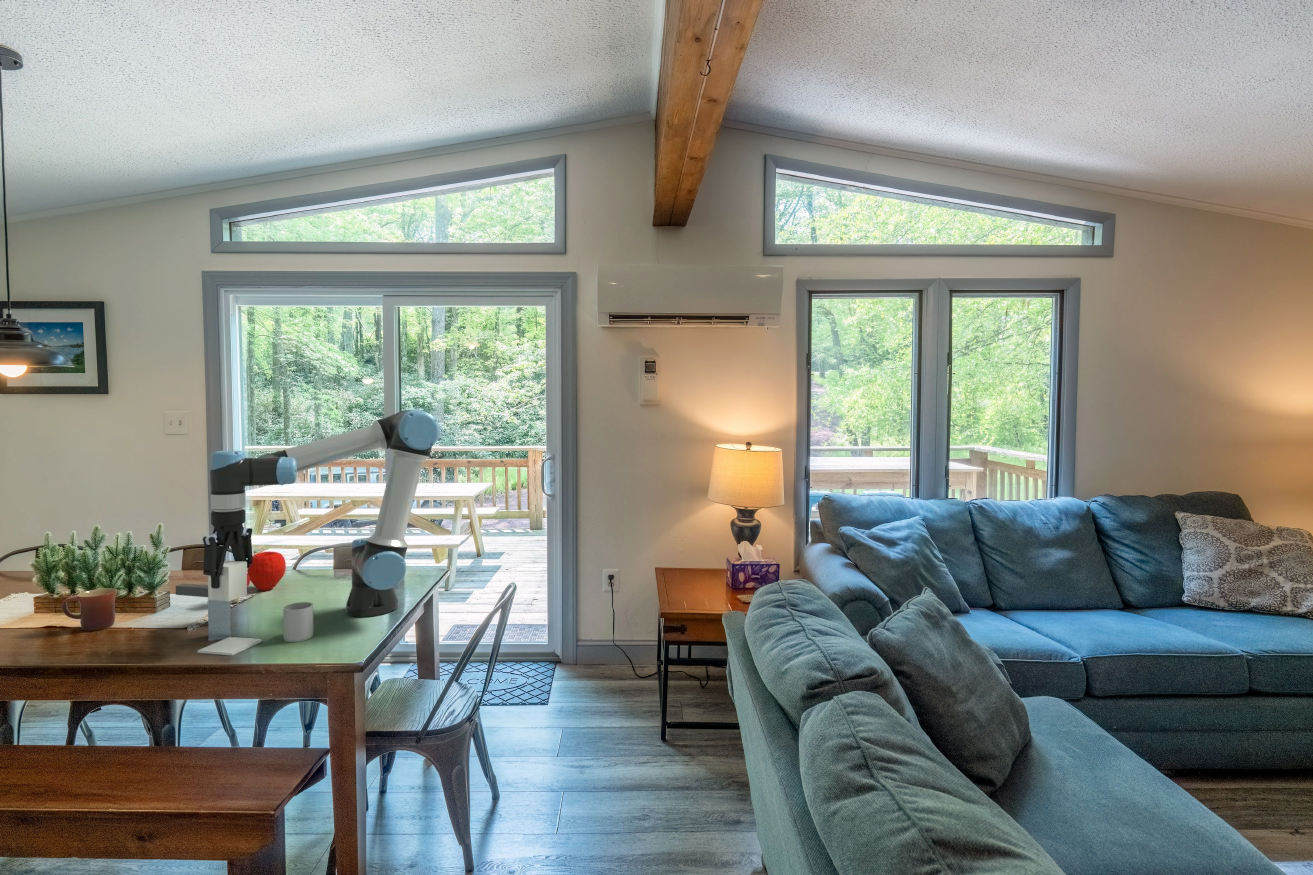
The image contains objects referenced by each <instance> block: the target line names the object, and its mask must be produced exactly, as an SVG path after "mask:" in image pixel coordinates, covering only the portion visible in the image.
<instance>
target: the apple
mask: <svg viewBox="0 0 1313 875" xmlns="http://www.w3.org/2000/svg"><path fill="white" fill-rule="evenodd" d="M252 558H253V562H252V564H249V565H250V567H249V568H247V574H248V575H249V577H250V583H251V584H252V585H253V586H254V587H255V589H257V590H259V591H261V592H264V591H265V592H266V591H270V590H272V589H274V588H275V587H276V586H277V585H278V584H279V583H280V581H281V580H282V578H283V577H284V575H285V573H286V570H287V565H286V562H287V561H286V560H285V556H284V555H283V554H282V553H280V552H278V551H261V552H258V553H255V554H254V555H252Z"/></svg>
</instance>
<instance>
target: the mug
mask: <svg viewBox="0 0 1313 875" xmlns="http://www.w3.org/2000/svg"><path fill="white" fill-rule="evenodd" d="M118 592H119V591H118V589H117V588H113V587H112V588H111V587H109V588H108V587H105V588H99V589H98V588H97V589H90V590H87V591H82V592H79V593H78V594H76V596H69V597H67V598H65V599H64V600H63V601H62V605H61V608H62V611H63V614H65V616H66V617H68V618H70V619H74V620H80V621H79V622H80V627H81V629H82V631H83V630H84V631H86V632H94V631H95V632H97V631H101V630H105V629H109V628H111V627H112V626H114V624H115V620H116V606H115V600H116V596H117V593H118ZM69 601H74V602H77V603H79V606H80V613H79V614H77V613H76V614H74V613H72V612H70V611H69V608H68V602H69Z"/></svg>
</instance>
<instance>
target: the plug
mask: <svg viewBox="0 0 1313 875" xmlns="http://www.w3.org/2000/svg"><path fill="white" fill-rule="evenodd" d="M216 571H217V570H216ZM247 574H248V573H247V562H244V561H235V560H224V564H223V569H222V573H221V575H224V600H222V601H230V602H231V600H234V599H237V598H239V597H240V598H241V597H244V596H247V595H248V588H247ZM175 596H187V597H199V598H207V601H208V600H213V588H211V576H210V575H207V584H197V583H195V584H194V583H181V584H178V585H175ZM218 601H220V600H218Z"/></svg>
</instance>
